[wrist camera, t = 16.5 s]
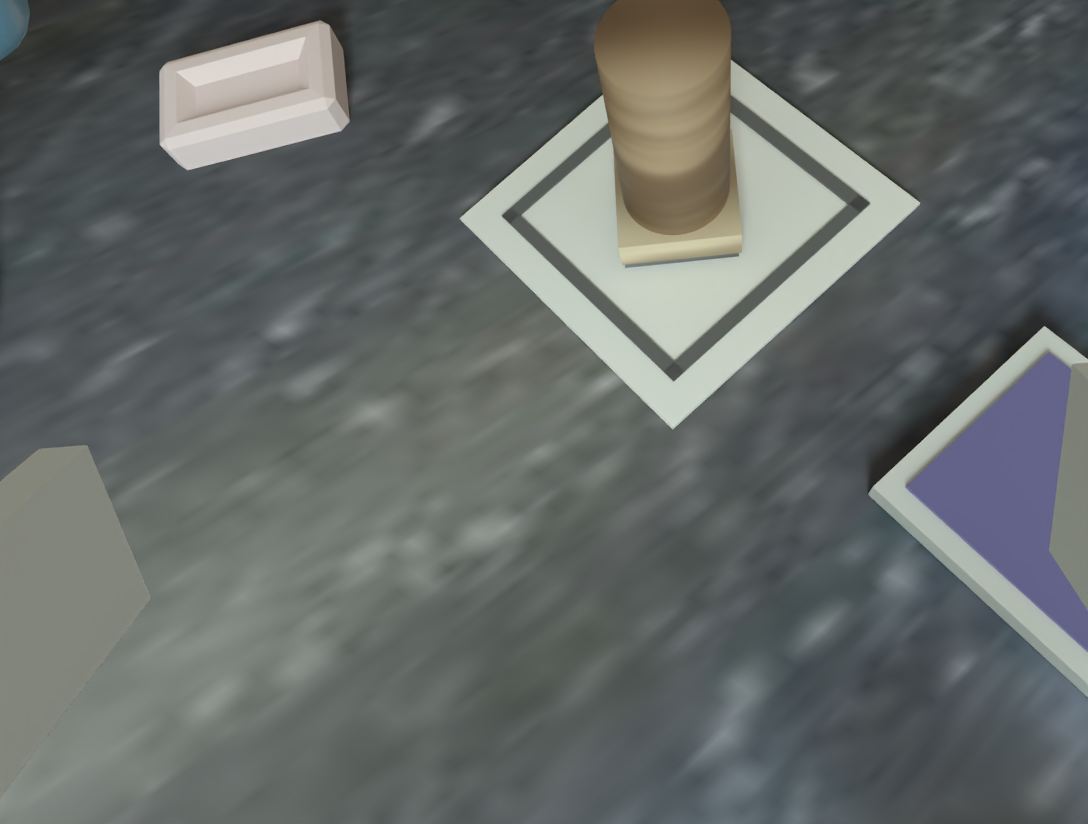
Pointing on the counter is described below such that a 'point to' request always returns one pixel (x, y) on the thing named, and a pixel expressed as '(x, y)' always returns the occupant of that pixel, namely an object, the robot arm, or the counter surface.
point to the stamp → (670, 129)
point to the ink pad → (1001, 499)
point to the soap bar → (253, 96)
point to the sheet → (696, 286)
